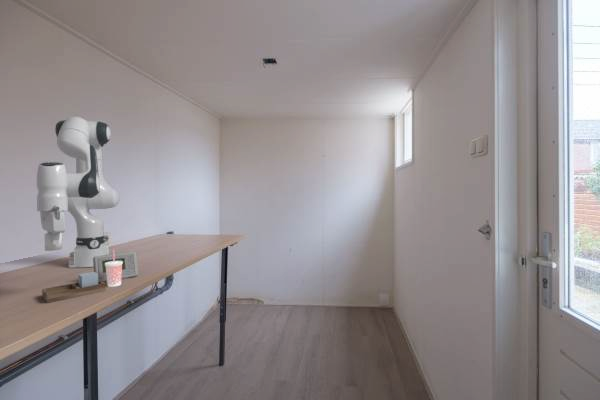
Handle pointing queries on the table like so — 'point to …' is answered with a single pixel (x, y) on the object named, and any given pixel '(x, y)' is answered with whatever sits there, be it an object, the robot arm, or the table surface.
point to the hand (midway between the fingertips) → (53, 243)
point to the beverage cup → (114, 272)
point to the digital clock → (128, 260)
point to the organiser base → (70, 291)
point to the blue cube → (87, 279)
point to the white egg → (48, 242)
